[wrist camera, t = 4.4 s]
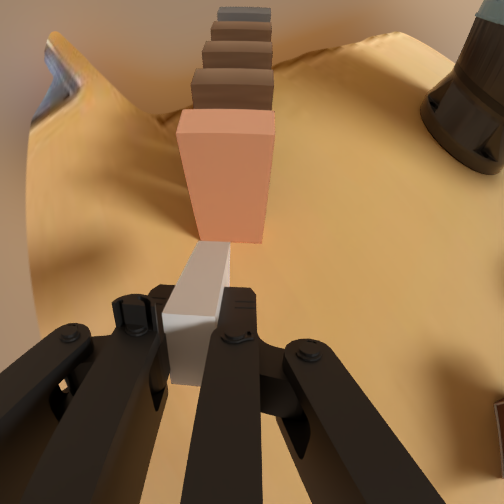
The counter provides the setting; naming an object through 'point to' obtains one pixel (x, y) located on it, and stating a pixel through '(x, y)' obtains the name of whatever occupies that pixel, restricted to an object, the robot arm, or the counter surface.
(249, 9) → the domino
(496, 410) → the food container
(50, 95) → the counter surface
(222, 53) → the domino
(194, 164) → the domino
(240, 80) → the domino
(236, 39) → the domino
